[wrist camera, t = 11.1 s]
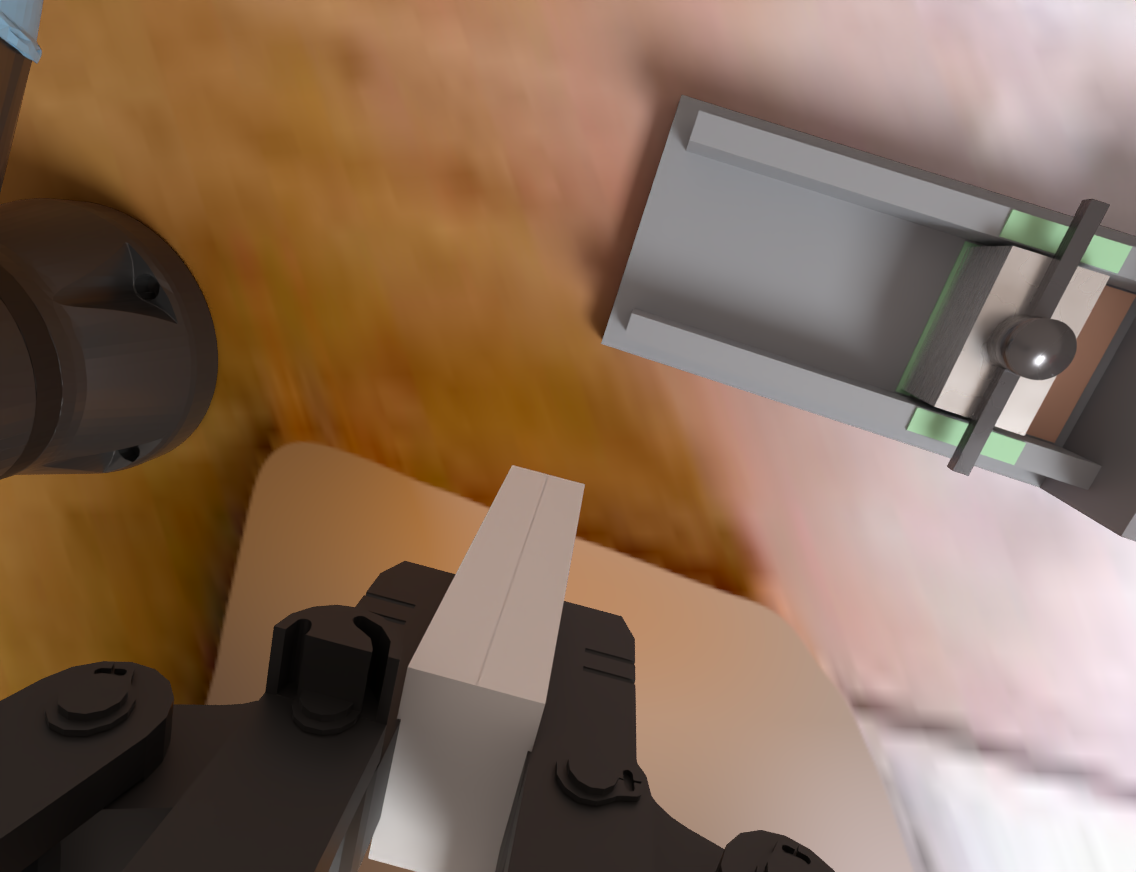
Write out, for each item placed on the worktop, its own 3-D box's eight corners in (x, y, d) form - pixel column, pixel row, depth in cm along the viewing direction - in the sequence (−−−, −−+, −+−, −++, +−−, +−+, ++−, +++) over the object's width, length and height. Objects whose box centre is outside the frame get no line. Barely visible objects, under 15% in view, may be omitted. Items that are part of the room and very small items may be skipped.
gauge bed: (602, 340, 35) (590, 361, 28) (680, 100, 32) (688, 57, 25) (1083, 498, 34) (1192, 560, 27) (1218, 268, 31) (1381, 272, 24)
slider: (881, 431, 33) (926, 466, 28) (991, 196, 30) (1068, 182, 24) (958, 457, 33) (1020, 498, 28) (1078, 223, 30) (1175, 215, 24)
